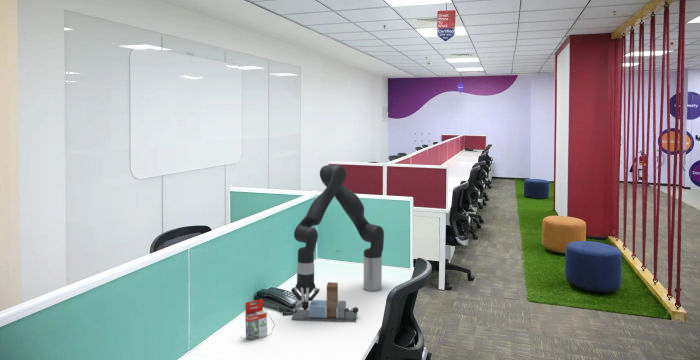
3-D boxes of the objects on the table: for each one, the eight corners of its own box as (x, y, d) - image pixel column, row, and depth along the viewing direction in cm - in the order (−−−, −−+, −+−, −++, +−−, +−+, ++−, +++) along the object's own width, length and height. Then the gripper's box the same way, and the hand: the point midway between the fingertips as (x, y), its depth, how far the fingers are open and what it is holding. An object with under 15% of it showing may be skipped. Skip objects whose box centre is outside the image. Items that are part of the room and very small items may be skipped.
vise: (295, 311, 227) (295, 298, 226) (359, 313, 225) (359, 300, 224) (291, 320, 217) (291, 307, 216) (357, 322, 215) (357, 308, 214)
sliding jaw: (311, 310, 225) (311, 299, 225) (328, 310, 225) (328, 300, 224) (309, 317, 217) (309, 306, 217) (326, 317, 217) (326, 307, 216)
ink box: (267, 336, 202) (266, 301, 200) (249, 340, 197) (248, 305, 195) (263, 332, 205) (263, 298, 203) (245, 337, 200) (244, 302, 198)
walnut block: (328, 312, 223) (327, 282, 221) (337, 312, 223) (337, 282, 221) (326, 316, 219) (326, 285, 217) (336, 316, 218) (336, 285, 217)
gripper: (321, 269, 223) (321, 306, 225) (292, 268, 223) (292, 305, 226) (319, 274, 215) (319, 313, 217) (289, 273, 216) (288, 311, 218)
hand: (305, 309), depth 221 cm, fingers closed
